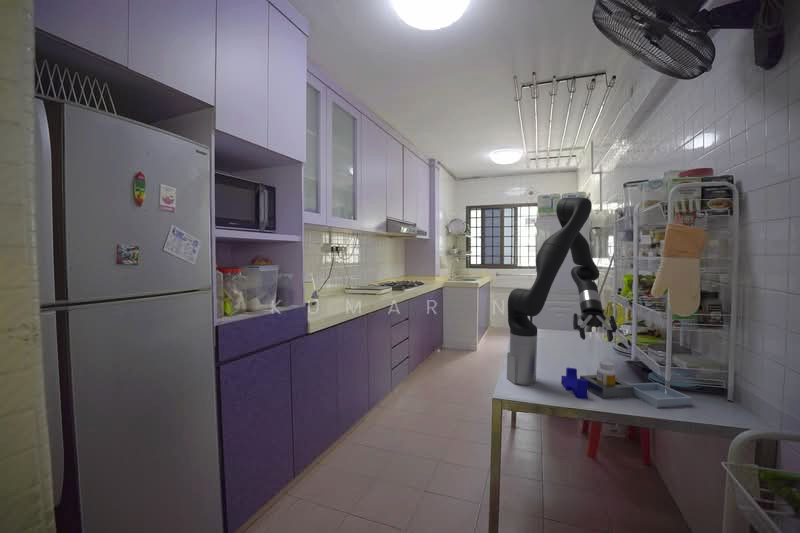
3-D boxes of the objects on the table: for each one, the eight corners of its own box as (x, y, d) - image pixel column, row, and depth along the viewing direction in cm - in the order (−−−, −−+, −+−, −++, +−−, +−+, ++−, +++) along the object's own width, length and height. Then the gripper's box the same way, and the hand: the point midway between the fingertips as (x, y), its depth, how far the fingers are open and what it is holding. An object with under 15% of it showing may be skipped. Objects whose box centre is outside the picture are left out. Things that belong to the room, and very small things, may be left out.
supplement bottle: (616, 391, 114) (617, 362, 113) (613, 396, 110) (614, 366, 109) (597, 386, 117) (598, 359, 117) (594, 391, 113) (595, 363, 113)
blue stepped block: (561, 383, 120) (561, 367, 120) (574, 384, 119) (575, 368, 119) (571, 398, 108) (572, 379, 108) (587, 399, 107) (587, 381, 107)
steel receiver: (602, 399, 107) (602, 388, 107) (579, 385, 118) (580, 375, 118) (633, 397, 109) (633, 386, 109) (608, 384, 120) (608, 374, 120)
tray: (656, 408, 101) (657, 399, 101) (625, 391, 113) (625, 384, 113) (691, 406, 103) (692, 397, 103) (656, 390, 115) (657, 382, 115)
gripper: (572, 297, 133) (577, 332, 123) (613, 299, 129) (622, 335, 119) (569, 308, 139) (573, 343, 128) (608, 310, 134) (616, 346, 124)
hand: (597, 339), depth 123 cm, fingers open, 8 cm apart
